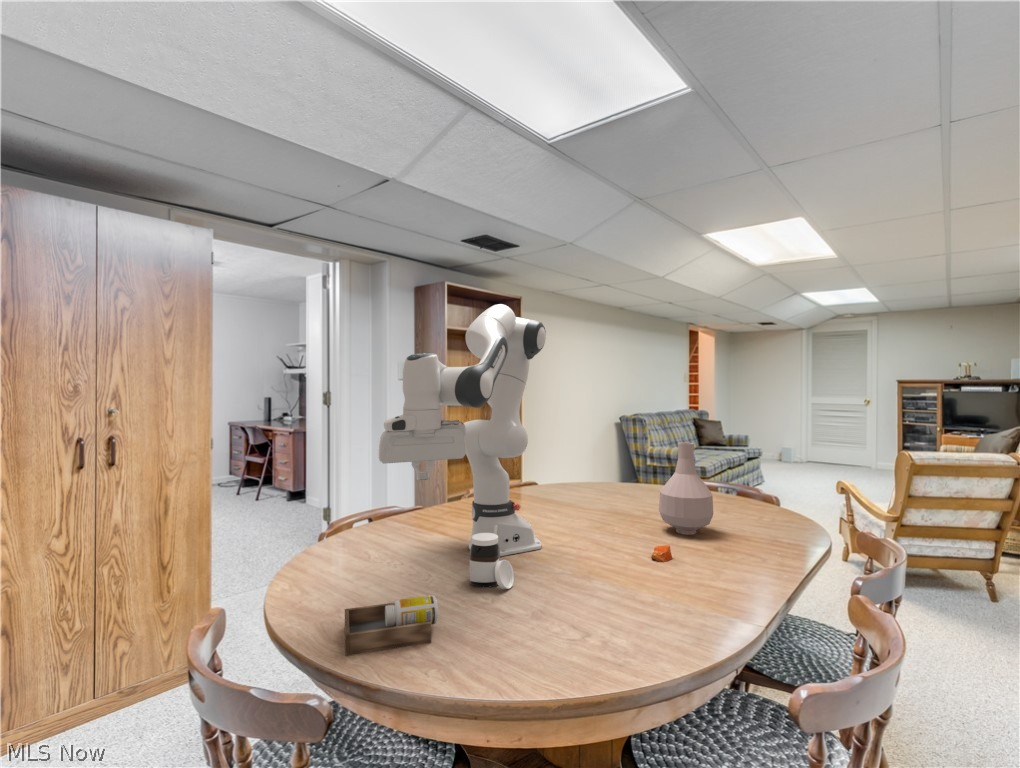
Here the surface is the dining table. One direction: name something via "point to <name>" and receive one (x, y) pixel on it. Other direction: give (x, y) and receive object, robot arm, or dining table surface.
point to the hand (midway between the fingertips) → (423, 479)
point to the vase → (686, 495)
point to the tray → (379, 631)
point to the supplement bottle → (412, 611)
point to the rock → (662, 553)
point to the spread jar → (489, 563)
